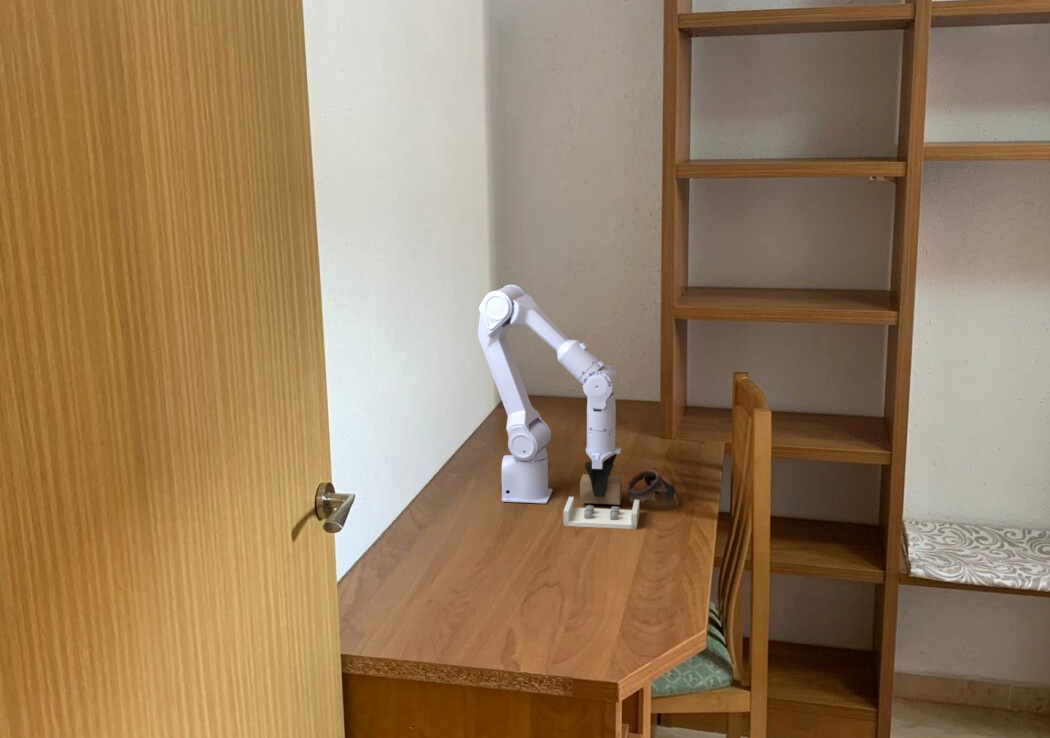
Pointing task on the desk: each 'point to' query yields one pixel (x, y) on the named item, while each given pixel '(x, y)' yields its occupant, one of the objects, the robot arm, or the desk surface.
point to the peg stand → (600, 516)
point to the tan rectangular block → (611, 495)
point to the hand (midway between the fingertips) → (600, 491)
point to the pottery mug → (651, 487)
